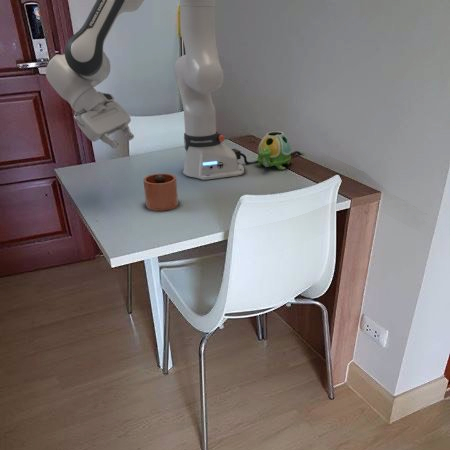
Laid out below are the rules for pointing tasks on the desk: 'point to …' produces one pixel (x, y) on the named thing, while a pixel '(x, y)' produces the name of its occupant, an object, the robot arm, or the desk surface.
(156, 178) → the pestle
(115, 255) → the desk surface
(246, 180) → the desk surface
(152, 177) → the cup
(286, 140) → the turtle holder
